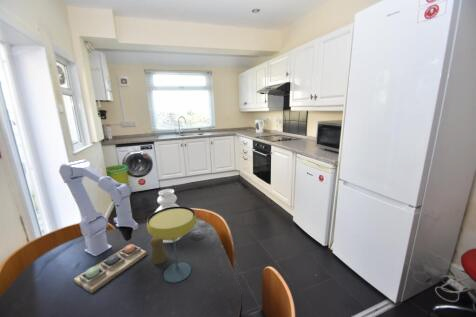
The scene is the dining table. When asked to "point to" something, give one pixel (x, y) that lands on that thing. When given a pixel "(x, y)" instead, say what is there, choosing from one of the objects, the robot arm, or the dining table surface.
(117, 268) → the button board
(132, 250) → the terracotta button
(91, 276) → the sage button
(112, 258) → the charcoal button
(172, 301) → the dining table surface
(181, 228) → the cocktail glass
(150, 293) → the dining table surface
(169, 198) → the decorative vase
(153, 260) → the cork
